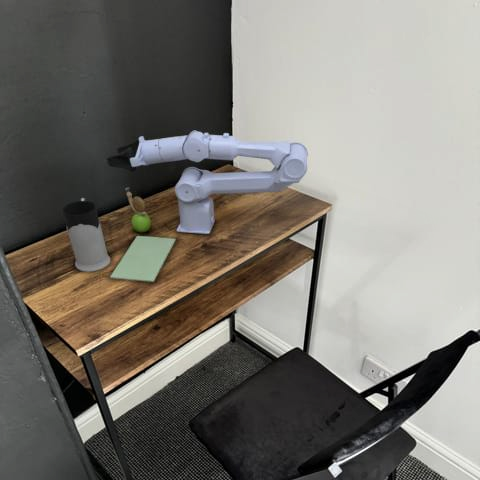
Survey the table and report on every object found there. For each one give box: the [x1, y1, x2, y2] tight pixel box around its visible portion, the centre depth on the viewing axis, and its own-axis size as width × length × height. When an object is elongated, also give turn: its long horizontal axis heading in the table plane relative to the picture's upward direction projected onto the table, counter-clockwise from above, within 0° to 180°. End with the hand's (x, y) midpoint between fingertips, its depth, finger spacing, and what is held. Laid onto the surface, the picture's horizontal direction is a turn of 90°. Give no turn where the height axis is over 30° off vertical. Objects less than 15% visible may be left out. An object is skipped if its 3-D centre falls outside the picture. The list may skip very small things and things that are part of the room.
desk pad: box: [109, 235, 177, 283], centre depth 119 cm, size 11×20×1 cm, turn 171°
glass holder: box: [62, 197, 111, 272], centre depth 115 cm, size 9×14×15 cm, turn 11°
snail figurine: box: [124, 187, 152, 233], centre depth 126 cm, size 5×6×12 cm
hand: (113, 157), depth 121 cm, fingers open, 7 cm apart
